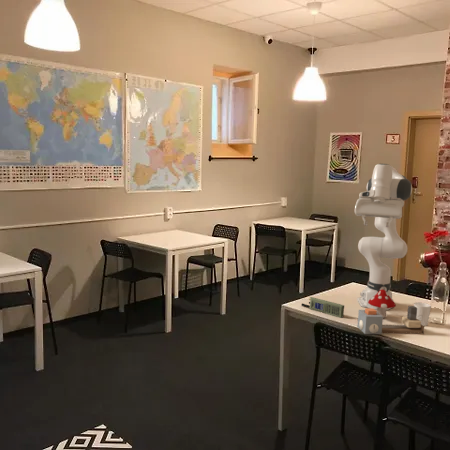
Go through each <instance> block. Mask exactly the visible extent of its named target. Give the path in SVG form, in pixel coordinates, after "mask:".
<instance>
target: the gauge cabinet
mask: <svg viewBox="0 0 450 450" xmlns="http://www.w3.org/2000/svg"><path fill="white" fill-rule="evenodd" d="M383 320H384V318H383V316H382V315H380V314H379V313H378V312H377V313H376V315H367V314H366V313H365V309H358V314H357V326H356V327H357V328H358V329H359V330H360V331H361V332H363V334H364V335H382V334H383V333H382V325H383V324H384V323H383V322H384V321H383Z"/></svg>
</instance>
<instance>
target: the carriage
mask: <svg viewBox="0 0 450 450" xmlns="http://www.w3.org/2000/svg"><path fill="white" fill-rule="evenodd" d="M416 316H417V308H416V307H415V306H414V305H408V307H407V315H406V316H402V317H401V323H402V325H406V326H407V327H408V328H421V321H420V320H418V319H417V318H416Z"/></svg>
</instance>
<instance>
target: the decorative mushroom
mask: <svg viewBox="0 0 450 450" xmlns="http://www.w3.org/2000/svg"><path fill="white" fill-rule="evenodd" d="M368 303H369V304H370V305H372V306H375V307H378V308H377V310H376V309H375V310H376V311H377V312H378V313H379V314H380V315H382V316H383V319H384V318H386V317H387V310H386V309H385V308H391V309H392V308H395V307H396V306H397V304H396V303H395V301H394V299H393V297H392V298H390V296H389V295H388V293H387V292H386V291H385V290H383V289H382V290H380V291H379V292H378V293H377V294H376V295H375V296H373V297H372V298H371V299H370V300H369V301H368Z"/></svg>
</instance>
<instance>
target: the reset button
mask: <svg viewBox="0 0 450 450" xmlns="http://www.w3.org/2000/svg"><path fill="white" fill-rule="evenodd" d="M364 310H365V313H366V314H367V315H376V313H377V311H376V309H373V308H367V307H364Z"/></svg>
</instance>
